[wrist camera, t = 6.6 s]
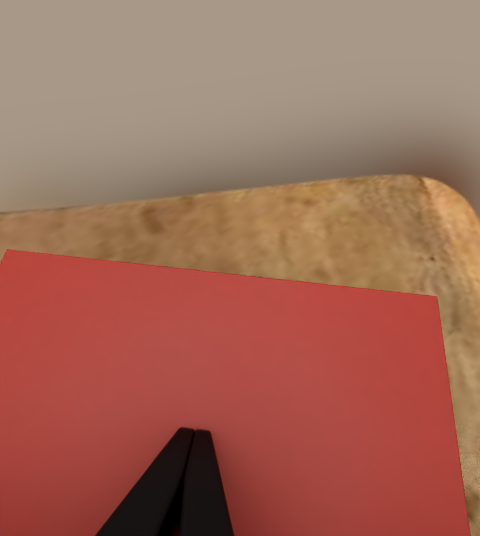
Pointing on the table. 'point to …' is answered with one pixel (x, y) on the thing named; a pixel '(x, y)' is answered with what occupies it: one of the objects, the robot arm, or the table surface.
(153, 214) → the table surface
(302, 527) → the lid
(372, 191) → the table surface
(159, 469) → the robot arm
